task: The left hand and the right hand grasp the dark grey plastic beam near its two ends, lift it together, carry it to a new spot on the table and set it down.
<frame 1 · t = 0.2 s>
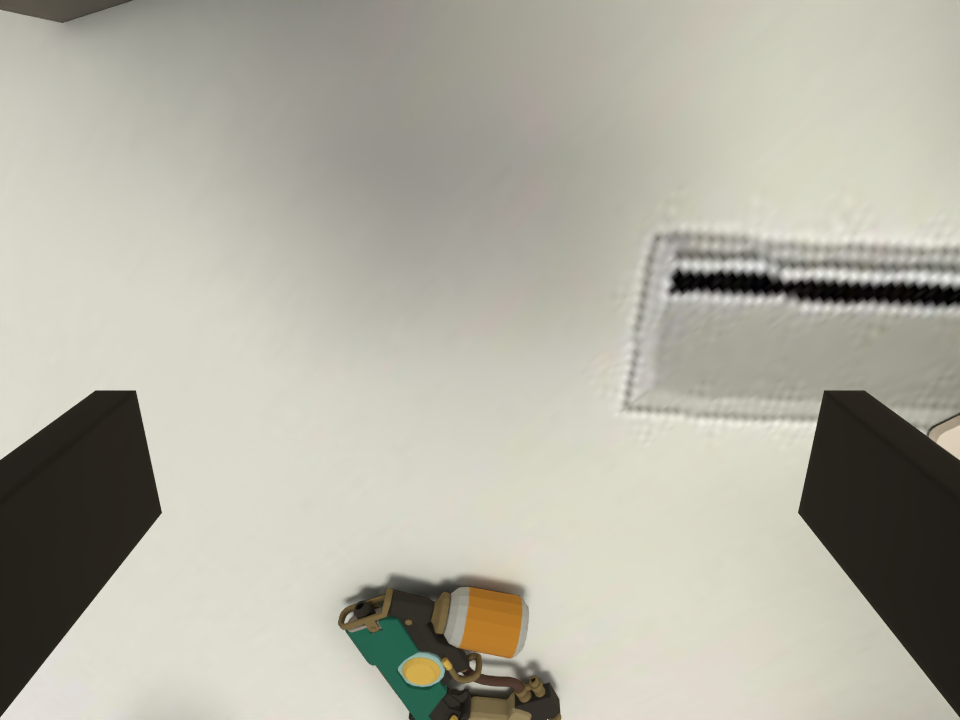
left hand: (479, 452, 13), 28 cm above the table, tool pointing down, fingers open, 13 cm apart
spray gun: (456, 651, 50), on the table
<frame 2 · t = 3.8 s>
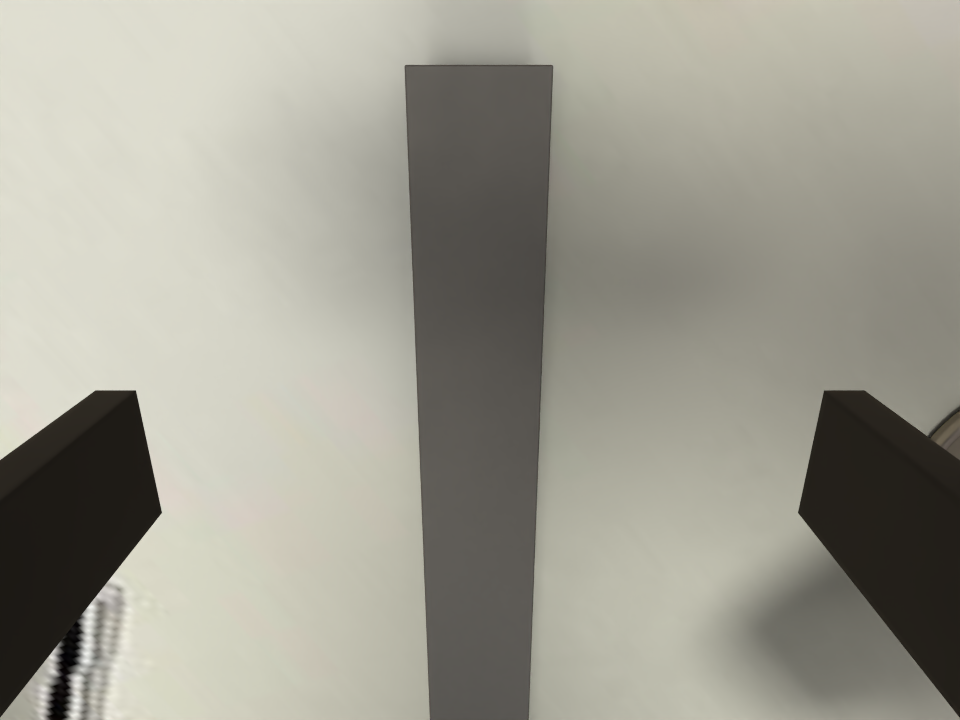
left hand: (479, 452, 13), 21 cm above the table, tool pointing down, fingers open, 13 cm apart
beam: (479, 570, 39), on the table, touching right hand
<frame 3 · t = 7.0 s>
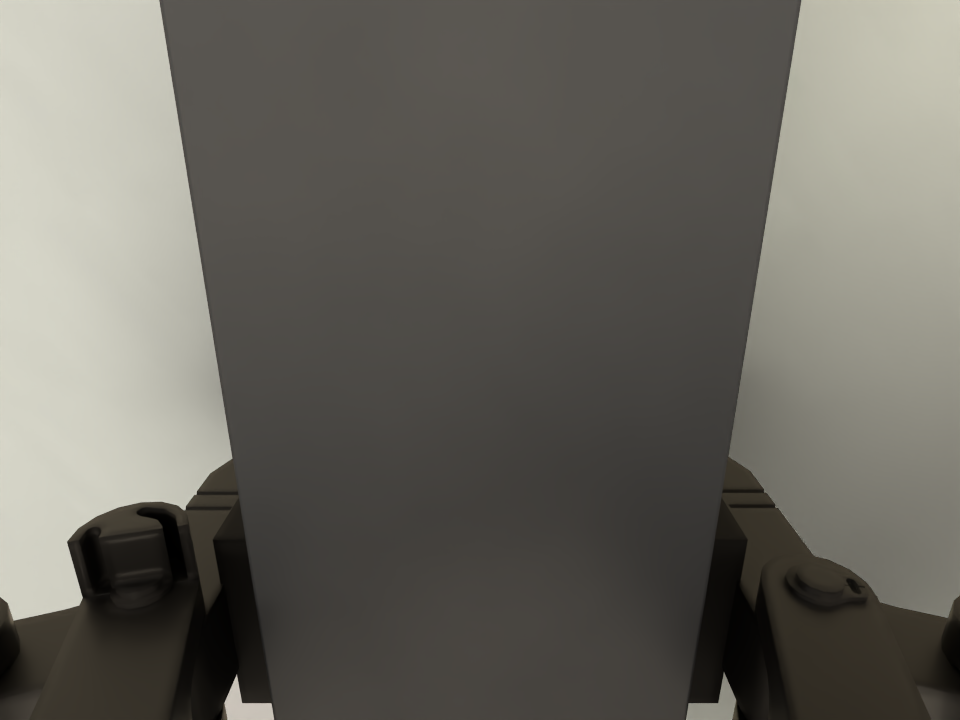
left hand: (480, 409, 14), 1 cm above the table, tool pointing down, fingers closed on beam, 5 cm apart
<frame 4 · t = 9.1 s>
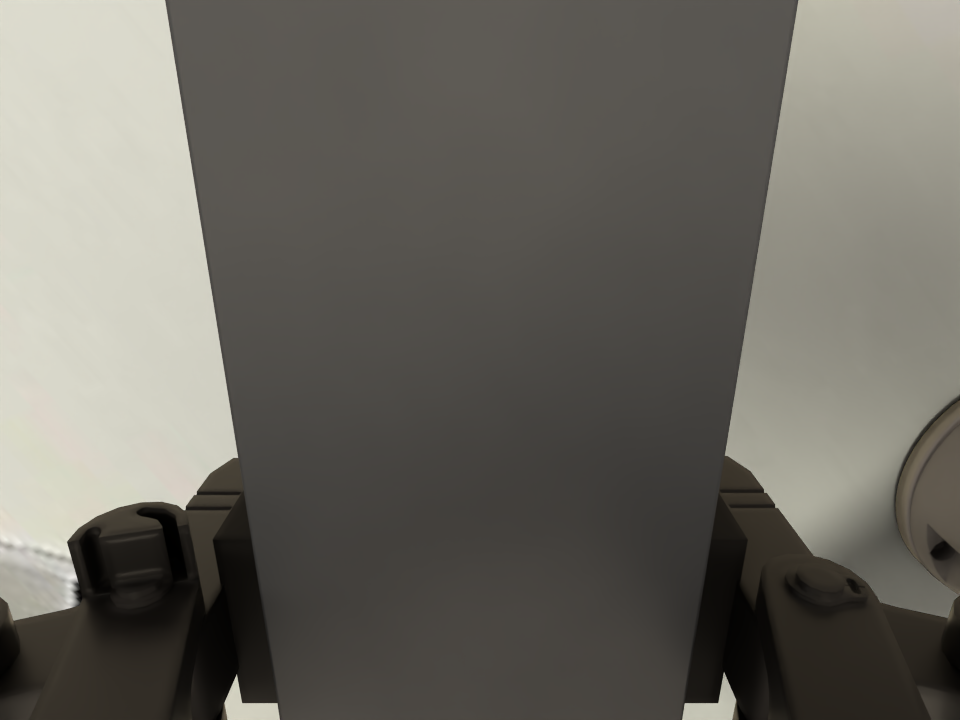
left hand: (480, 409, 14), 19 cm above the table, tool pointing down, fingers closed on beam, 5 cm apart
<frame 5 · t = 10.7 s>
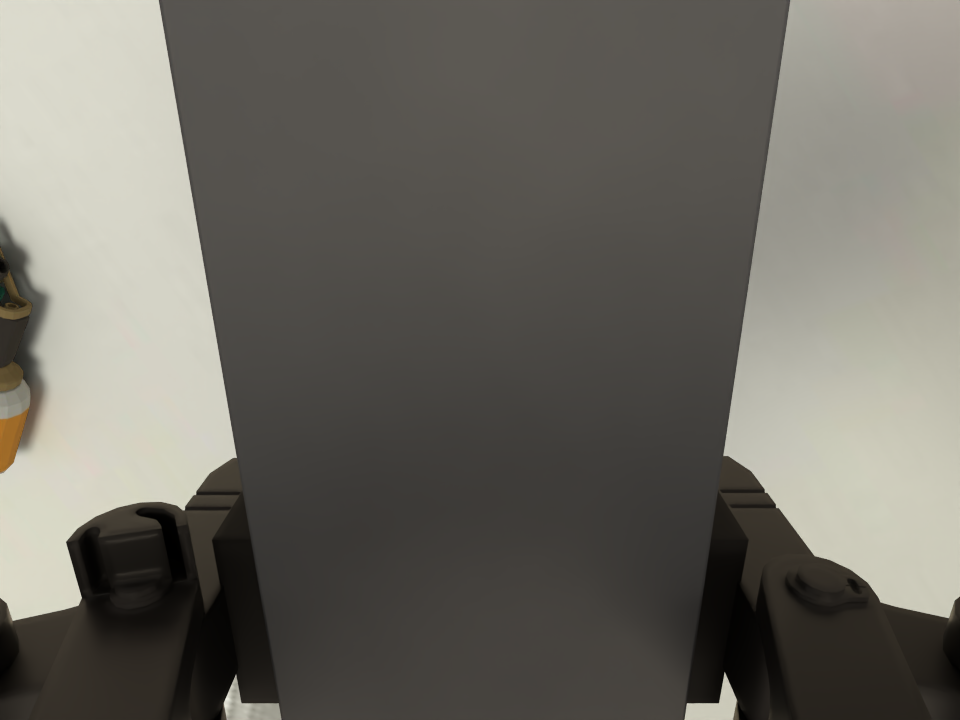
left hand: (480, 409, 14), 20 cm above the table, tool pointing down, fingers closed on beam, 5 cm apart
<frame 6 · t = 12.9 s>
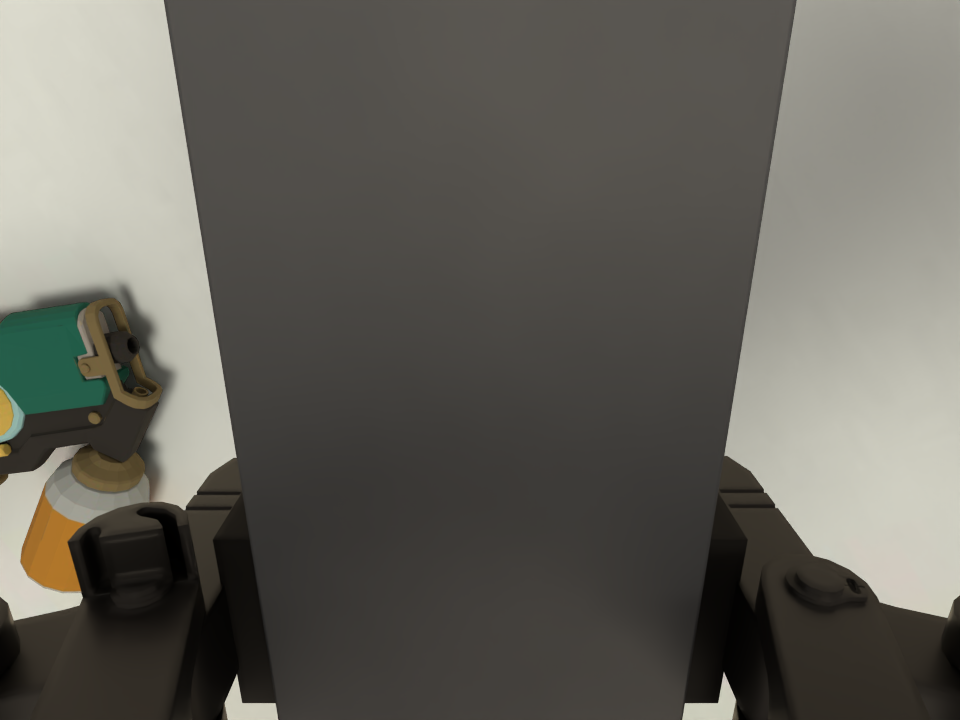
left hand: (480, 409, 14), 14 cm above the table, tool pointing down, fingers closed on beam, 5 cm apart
spray gun: (3, 426, 30), on the table
when the left hand's fingers open (2 cm above the table, at t = 14.8 s): beam drops 1 cm, on the table.
when the right hand's fingers open (2 cm above the table, at t = 14.8 s): beam drops 1 cm, on the table.
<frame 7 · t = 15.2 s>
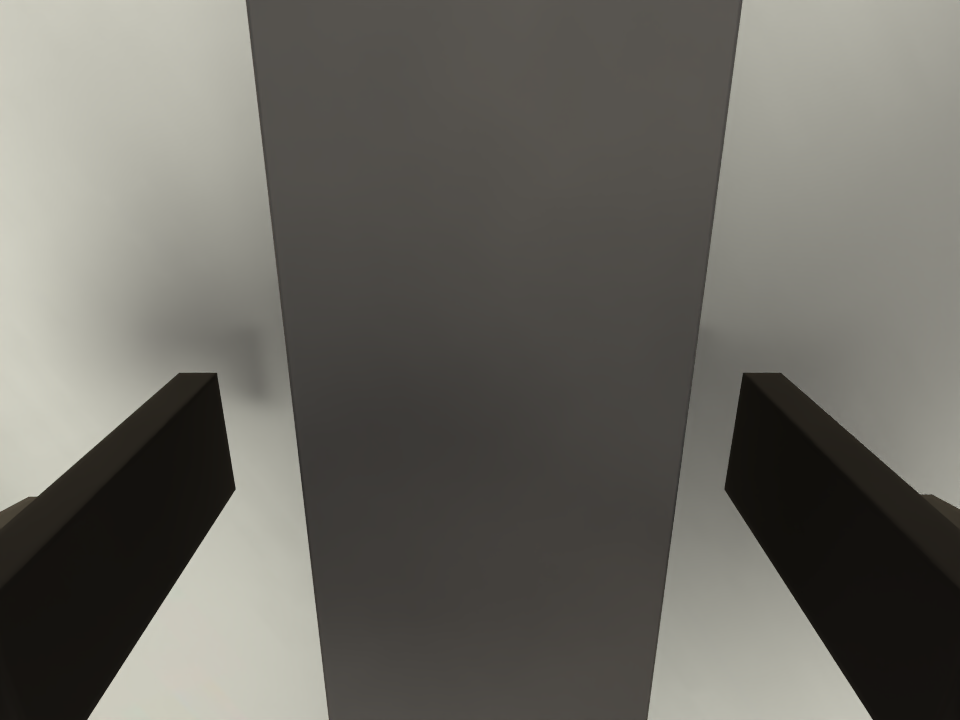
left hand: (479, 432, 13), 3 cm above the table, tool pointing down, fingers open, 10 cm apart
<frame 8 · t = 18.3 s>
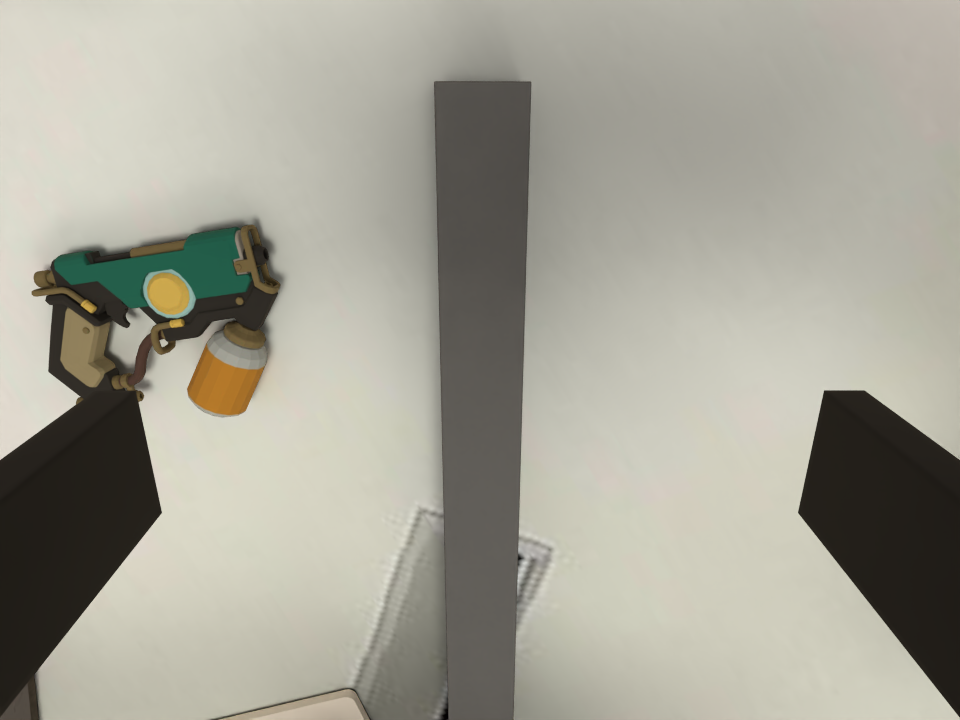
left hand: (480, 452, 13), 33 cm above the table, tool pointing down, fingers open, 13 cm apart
beam: (481, 465, 51), on the table
spray gun: (171, 314, 46), on the table
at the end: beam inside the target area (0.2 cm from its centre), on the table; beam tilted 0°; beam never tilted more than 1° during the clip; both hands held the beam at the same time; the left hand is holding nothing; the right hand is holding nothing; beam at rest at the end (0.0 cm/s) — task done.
